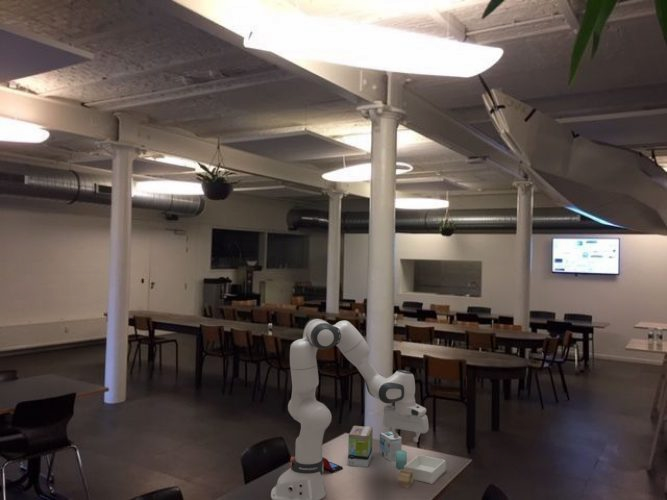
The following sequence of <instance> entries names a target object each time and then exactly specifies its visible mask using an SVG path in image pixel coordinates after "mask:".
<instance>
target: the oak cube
mask: <svg viewBox="0 0 667 500" xmlns="http://www.w3.org/2000/svg"><path fill="white" fill-rule="evenodd" d="M413 484H414V480H413V472H411V471H407V470H404V469H400V471H399V472H397V486H401V487H404V488H410V487H411V486H412V485H413Z"/></svg>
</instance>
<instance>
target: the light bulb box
mask: <svg viewBox="0 0 667 500" xmlns="http://www.w3.org/2000/svg"><path fill="white" fill-rule="evenodd" d="M402 439H403V438H402V436H400V435H398V438H394V437H393V433H392V431H391V430H390V431H385V432H380V433H379V455H380V456H382V457H383V458H385V459H386V460H388V461H389V462H394V461H395V462H396V451H398V450H403V449H402V447H403V445H402V443H403V440H402Z"/></svg>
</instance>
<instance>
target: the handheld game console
mask: <svg viewBox="0 0 667 500" xmlns="http://www.w3.org/2000/svg"><path fill="white" fill-rule="evenodd" d="M322 458H323V471H326V472H328V473H330V474H334V473H336V472H339V471H341V470H343V469H344V468H343V466H341V465H339V464H337V463H334V462H331V461H329V460H328V459H327V458H326V457H324V456H322Z"/></svg>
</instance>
